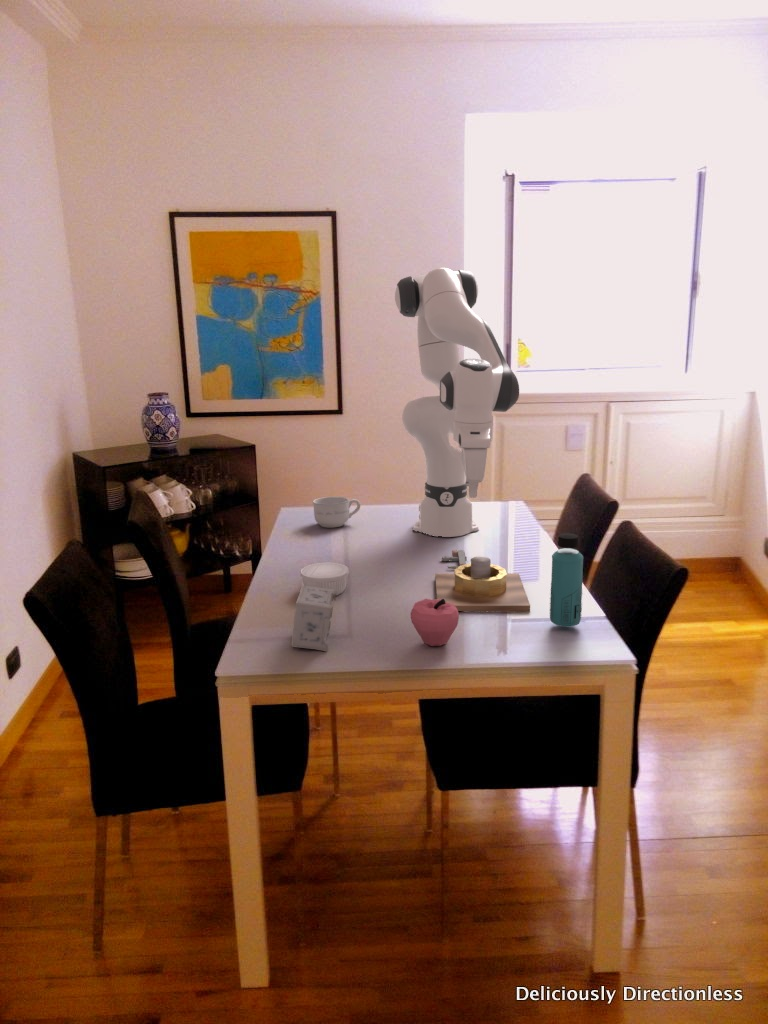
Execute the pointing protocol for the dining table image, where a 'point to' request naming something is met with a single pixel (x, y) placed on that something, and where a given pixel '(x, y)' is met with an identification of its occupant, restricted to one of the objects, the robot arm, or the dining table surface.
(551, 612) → the beverage bottle
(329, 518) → the teacup
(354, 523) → the dining table surface
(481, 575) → the piston stand
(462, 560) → the clamp
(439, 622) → the apple
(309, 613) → the incense holder
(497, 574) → the wooden ring
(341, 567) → the ramekin
